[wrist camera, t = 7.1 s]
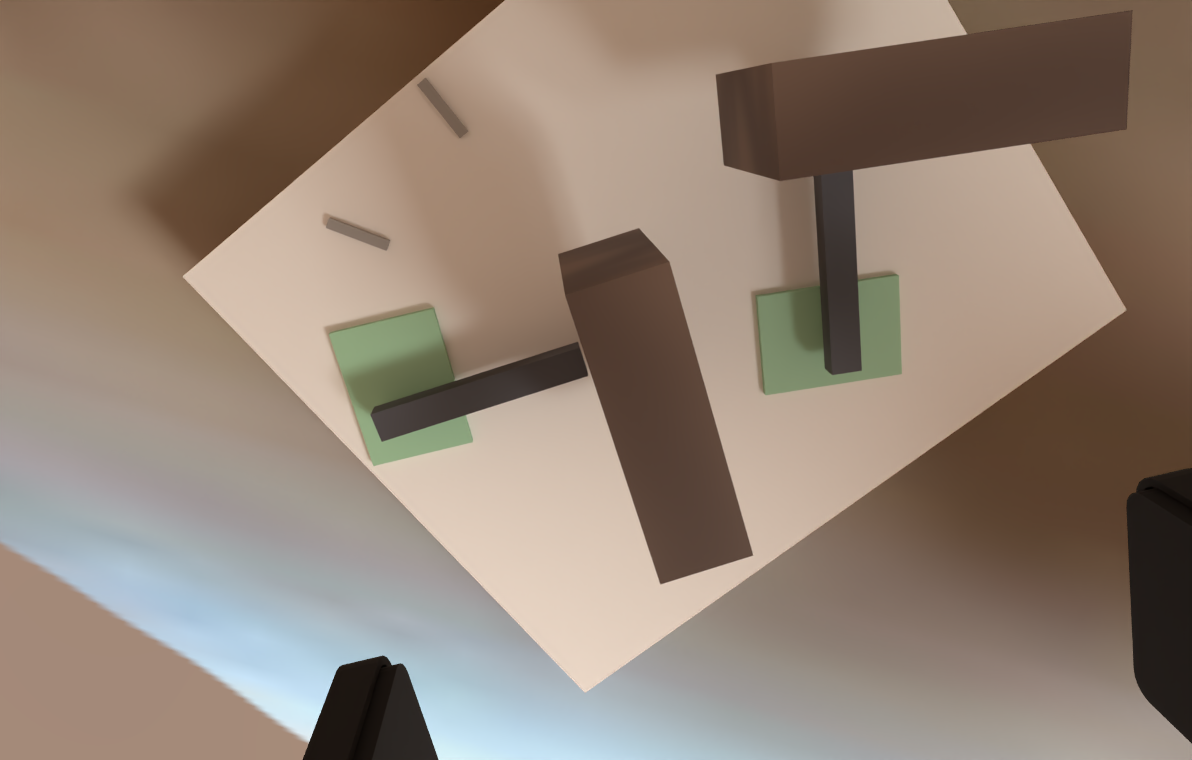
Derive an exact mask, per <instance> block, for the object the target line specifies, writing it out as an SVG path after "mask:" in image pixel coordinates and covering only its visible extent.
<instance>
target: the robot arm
mask: <svg viewBox="0 0 1192 760" xmlns="http://www.w3.org/2000/svg"><path fill="white" fill-rule="evenodd" d="M1127 527H1128V549H1129V572H1130V594H1131V617H1132V639H1133V662H1134V673H1135V678H1136V681H1137V684H1138V686H1139V688H1140V690H1141V692H1142V693H1143V695H1144V696H1145V698H1146V699H1147V700H1148V701H1149V702H1150V703H1151V704H1152V705H1153V706H1154V707H1155V708H1156V709H1157V710H1158V711H1159V712H1160V713H1161V714H1162V715H1163V716H1164V717H1165V718H1166V719H1167V720H1168V721H1169V722H1170V723H1171V724H1172V725H1173V726H1174V727H1175V728H1176V729H1177V730H1178V731H1179V732H1180V733H1181V734H1183V735H1184V736H1185V737H1186V738H1187V739H1188V740H1189V741H1190V742H1191V743H1192V468H1190V469H1183V470H1179V471H1174V472H1170V473H1166V474H1162V475H1157V476H1153V477H1149V478H1144V479H1143V480H1142V481H1140V482H1139V485H1138V487H1137V491H1136V493H1132V494H1131V495H1130V496H1129V497H1128V500H1127ZM303 760H438V757H437V754H436V751H435V749H434V746H433V743H432V740H431V737H430V734H429V731H428V729H427V726H426V723H425V720H424V717H423V714H422V711H421V709H420V706H419V703H418V700H417V697H416V694H415V692H414V689H413V686H412V683H411V680H410V677H409V674H408V672H407V670H406V668H405V666H404V665H403V664H396V665H391V663H390V661H389V660H388V658H387V657H385V656H379V657H375V658H371V659H366V660H362V661H358V662H354V663H349V664H345V665H342V666H340V667H339V668H338V670H337V671H336V674H335V676H334V679H333V682H332V684H331V687H330V689H329V692H328V695H327V697H326V700H325V703H324V705H323V708H322V710H321V713H320V716H319V718H318V721H317V724H316V726H315V729H314V731H313V734H312V737H311V739H310V742H309V744H308V747H307V750H306V752H305V755H304V758H303Z"/></svg>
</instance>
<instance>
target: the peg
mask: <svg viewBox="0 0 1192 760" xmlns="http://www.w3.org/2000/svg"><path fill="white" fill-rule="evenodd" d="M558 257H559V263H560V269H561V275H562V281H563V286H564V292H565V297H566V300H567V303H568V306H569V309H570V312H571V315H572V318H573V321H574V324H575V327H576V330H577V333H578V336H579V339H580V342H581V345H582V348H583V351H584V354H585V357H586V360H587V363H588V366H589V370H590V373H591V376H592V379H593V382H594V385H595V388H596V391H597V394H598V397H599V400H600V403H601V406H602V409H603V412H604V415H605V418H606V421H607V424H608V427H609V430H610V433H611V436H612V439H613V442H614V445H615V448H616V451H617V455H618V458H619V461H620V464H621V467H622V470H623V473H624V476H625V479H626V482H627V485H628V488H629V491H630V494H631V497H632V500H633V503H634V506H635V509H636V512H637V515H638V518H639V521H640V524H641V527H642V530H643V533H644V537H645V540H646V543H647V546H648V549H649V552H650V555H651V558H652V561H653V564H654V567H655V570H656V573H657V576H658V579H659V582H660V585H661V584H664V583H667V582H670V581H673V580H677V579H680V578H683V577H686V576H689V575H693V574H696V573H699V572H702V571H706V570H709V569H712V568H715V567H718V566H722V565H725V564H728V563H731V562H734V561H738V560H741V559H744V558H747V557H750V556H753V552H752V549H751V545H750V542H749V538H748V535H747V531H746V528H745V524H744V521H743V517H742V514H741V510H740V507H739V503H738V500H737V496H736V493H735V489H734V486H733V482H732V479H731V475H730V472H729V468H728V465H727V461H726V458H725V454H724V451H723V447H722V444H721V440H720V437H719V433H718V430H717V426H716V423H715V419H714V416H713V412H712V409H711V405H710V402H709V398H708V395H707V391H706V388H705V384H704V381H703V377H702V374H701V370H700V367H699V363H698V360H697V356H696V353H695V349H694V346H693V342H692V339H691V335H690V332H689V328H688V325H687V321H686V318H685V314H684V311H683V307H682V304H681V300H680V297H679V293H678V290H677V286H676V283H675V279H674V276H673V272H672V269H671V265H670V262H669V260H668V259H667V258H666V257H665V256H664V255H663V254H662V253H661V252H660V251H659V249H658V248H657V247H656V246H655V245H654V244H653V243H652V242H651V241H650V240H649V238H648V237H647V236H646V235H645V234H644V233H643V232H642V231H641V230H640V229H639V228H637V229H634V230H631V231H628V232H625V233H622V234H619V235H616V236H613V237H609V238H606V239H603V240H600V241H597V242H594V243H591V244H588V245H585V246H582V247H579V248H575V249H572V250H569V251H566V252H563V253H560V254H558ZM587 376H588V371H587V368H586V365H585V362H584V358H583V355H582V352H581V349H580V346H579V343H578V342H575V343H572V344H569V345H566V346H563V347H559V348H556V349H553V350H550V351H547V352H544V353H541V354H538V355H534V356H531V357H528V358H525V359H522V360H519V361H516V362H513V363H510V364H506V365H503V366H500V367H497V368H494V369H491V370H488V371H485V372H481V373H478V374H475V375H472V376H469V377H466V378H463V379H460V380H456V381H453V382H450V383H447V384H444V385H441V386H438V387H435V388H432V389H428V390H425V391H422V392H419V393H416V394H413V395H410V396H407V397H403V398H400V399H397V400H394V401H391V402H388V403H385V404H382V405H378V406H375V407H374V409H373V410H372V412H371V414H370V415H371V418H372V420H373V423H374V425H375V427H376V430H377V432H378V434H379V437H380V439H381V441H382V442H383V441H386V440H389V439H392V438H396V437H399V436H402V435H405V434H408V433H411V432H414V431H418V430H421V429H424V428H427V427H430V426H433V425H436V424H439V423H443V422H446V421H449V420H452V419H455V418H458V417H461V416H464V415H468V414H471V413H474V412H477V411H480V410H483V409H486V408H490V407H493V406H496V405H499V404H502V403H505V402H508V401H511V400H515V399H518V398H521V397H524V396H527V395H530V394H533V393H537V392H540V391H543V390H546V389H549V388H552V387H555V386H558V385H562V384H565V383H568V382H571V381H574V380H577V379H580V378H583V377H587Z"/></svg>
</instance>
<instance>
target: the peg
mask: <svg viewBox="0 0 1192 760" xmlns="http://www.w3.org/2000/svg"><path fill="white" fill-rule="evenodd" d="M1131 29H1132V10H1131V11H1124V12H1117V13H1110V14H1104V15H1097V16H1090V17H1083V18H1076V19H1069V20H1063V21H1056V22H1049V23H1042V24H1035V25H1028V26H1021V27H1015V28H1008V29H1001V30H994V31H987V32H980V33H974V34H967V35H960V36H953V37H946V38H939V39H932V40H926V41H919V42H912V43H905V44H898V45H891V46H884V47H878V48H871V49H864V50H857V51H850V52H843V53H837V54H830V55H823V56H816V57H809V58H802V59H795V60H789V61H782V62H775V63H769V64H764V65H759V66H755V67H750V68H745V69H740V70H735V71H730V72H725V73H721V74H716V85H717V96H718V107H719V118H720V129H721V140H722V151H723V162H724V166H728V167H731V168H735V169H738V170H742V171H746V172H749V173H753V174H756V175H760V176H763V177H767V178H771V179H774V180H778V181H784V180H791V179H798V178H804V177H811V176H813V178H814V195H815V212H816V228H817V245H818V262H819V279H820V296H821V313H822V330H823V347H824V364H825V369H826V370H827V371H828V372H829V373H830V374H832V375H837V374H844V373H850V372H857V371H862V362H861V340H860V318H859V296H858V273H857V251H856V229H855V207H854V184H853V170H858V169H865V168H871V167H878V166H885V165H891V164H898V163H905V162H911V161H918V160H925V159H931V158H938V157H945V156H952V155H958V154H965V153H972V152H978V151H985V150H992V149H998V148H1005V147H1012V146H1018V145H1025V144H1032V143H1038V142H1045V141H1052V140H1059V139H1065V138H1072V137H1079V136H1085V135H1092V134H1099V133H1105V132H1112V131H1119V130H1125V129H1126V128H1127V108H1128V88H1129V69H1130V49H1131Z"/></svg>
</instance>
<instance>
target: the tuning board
mask: <svg viewBox="0 0 1192 760" xmlns="http://www.w3.org/2000/svg"><path fill="white" fill-rule="evenodd" d="M960 35H967V33H966V31H965V30H964V28H963V26H962V24H961V23H960V21H959V19H958V18H957V16H956V14H955V12H954V11H953V9H952V7H951V5H950V4H949V2H948V0H505V1H504V2H502V3H501V4H500V5H499V6H498V7H497V8H495V9H494V10H493V11H492V12H491V13H490V14H488V15H487V16H486V17H485V18H484V19H483V20H481V21H480V22H479V23H478V24H477V25H476V26H474V27H473V28H472V29H471V30H470V31H469V32H467V33H466V34H465V35H464V36H463V37H462V38H460V39H459V40H458V41H457V42H456V43H455V44H453V45H452V46H451V47H450V48H449V49H448V50H446V51H445V52H444V53H443V54H442V55H441V56H439V57H438V58H437V59H436V60H435V61H434V62H432V63H431V64H430V65H429V66H428V67H427V68H425V69H424V70H423V71H422V72H421V73H420V74H418V75H417V76H416V77H415V78H414V79H413V80H411V81H410V82H409V83H408V84H407V85H406V86H404V87H403V88H402V89H401V90H400V91H399V92H397V93H396V94H395V95H394V96H393V97H392V98H390V99H389V100H388V101H387V102H386V103H385V104H383V105H382V106H381V107H380V108H379V109H378V110H376V111H375V112H374V113H373V114H372V115H371V116H369V117H368V118H367V119H366V120H365V121H364V122H362V123H361V124H360V125H359V126H358V127H357V128H355V129H354V130H353V131H352V132H351V133H350V134H348V135H347V136H346V137H345V138H344V139H343V140H341V141H340V142H339V143H338V144H337V145H336V146H334V147H333V148H332V149H331V150H330V151H328V152H327V153H326V154H325V155H324V156H323V157H321V158H320V159H319V160H318V161H317V162H316V163H314V164H313V165H312V166H311V167H310V168H309V169H307V170H306V171H305V172H304V173H303V174H302V175H300V176H299V177H298V178H297V179H296V180H295V181H293V182H292V183H291V184H290V185H289V186H288V187H286V188H285V189H284V190H283V191H282V192H281V193H279V194H278V195H277V196H276V197H275V198H274V199H272V200H271V201H270V202H269V203H268V204H267V205H265V206H264V207H263V208H262V209H261V210H260V211H258V212H257V213H256V214H255V215H254V216H253V217H251V218H250V219H249V220H248V221H247V222H246V223H244V224H243V225H242V226H241V227H240V228H239V229H237V230H236V231H235V232H234V233H233V234H232V235H230V236H229V237H228V238H227V239H226V240H225V241H223V242H222V243H221V244H220V245H219V246H218V247H216V248H215V249H214V250H213V251H212V252H211V253H209V254H208V255H207V256H206V257H205V258H204V259H202V260H201V261H200V262H199V263H198V264H197V265H195V266H194V267H193V268H192V269H191V270H190V271H188V272H187V273H186V274H185V275H184V276H183V278H184V279H185V280H186V281H187V282H188V283H189V284H190V285H191V286H192V287H193V288H194V289H195V290H196V291H197V292H198V293H199V294H200V295H201V296H202V297H203V298H204V299H205V300H206V301H207V302H208V303H209V304H210V305H211V307H212V308H213V309H214V310H215V311H216V312H217V313H218V314H219V315H220V316H221V317H222V318H223V319H224V320H225V321H226V322H227V323H228V324H229V325H230V326H231V327H232V328H233V329H234V330H235V331H236V332H237V333H238V334H239V335H240V337H241V338H242V339H243V340H244V341H245V342H246V343H247V344H248V345H249V346H250V347H251V348H252V349H253V350H254V351H255V352H256V353H257V354H258V355H259V356H260V357H261V358H262V359H263V360H264V361H265V362H266V363H267V364H268V365H269V366H270V368H271V369H272V370H273V371H274V372H275V373H276V374H277V375H278V376H279V377H280V378H281V379H282V380H283V381H284V382H285V383H286V384H287V385H288V386H289V387H290V388H291V389H292V390H293V391H294V392H295V393H296V394H297V395H298V396H299V397H300V399H301V400H302V401H303V402H304V403H305V404H306V405H307V406H308V407H309V408H310V409H311V410H312V411H313V412H314V413H315V414H316V415H317V416H318V417H319V418H320V419H321V420H322V421H323V422H324V423H325V424H326V425H327V426H328V427H329V428H330V430H331V431H332V432H333V433H334V434H335V435H336V436H337V437H338V438H339V439H340V440H341V441H342V442H343V443H344V444H345V445H346V446H347V447H348V448H349V449H350V450H351V451H352V452H353V453H354V454H355V455H356V456H357V457H358V458H359V459H360V461H361V462H362V463H363V464H364V465H365V466H366V467H367V468H368V469H369V470H370V471H371V472H372V473H373V474H374V475H375V476H376V477H377V478H378V479H379V480H380V481H381V482H382V483H383V484H384V485H385V486H386V487H387V488H388V489H389V491H390V492H391V493H392V494H393V495H394V496H395V497H396V498H397V499H398V500H399V501H400V502H401V503H402V504H403V505H404V506H405V507H406V508H407V509H408V510H409V511H410V512H411V513H412V514H413V515H414V516H415V517H416V518H417V519H418V520H419V522H420V523H421V524H422V525H423V526H424V527H425V528H426V529H427V530H428V531H429V532H430V533H431V534H432V535H433V536H434V537H435V538H436V539H437V540H438V541H439V542H440V543H441V544H442V545H443V546H444V547H445V548H446V549H447V550H448V551H449V553H450V554H451V555H452V556H453V557H454V558H455V559H456V560H457V561H458V562H459V563H460V564H461V565H462V566H463V567H464V568H465V569H466V570H467V571H468V572H469V573H470V574H471V575H472V576H473V577H474V578H475V579H476V580H477V581H478V582H479V584H480V585H481V586H482V587H483V588H484V589H485V590H486V591H487V592H488V593H489V594H490V595H491V596H492V597H493V598H494V599H495V600H496V601H497V602H498V603H499V604H500V605H501V606H502V607H503V608H504V609H505V610H506V611H507V612H508V613H509V615H510V616H511V617H512V618H513V619H514V620H515V621H516V622H517V623H518V624H519V625H520V626H521V627H522V628H523V629H524V630H525V631H526V632H527V633H528V634H529V635H530V636H531V637H532V638H533V639H534V640H535V641H536V642H537V643H538V645H539V646H540V647H541V648H542V649H543V650H544V651H545V652H546V653H547V654H548V655H549V656H550V657H551V658H552V659H553V660H554V661H555V662H556V663H557V664H558V665H559V666H560V667H561V668H562V669H563V670H564V671H565V672H566V673H567V674H568V676H569V677H570V678H571V679H572V680H573V681H574V682H575V683H576V684H577V685H578V686H579V687H580V688H581V689H582V690H583V691H584V692H585V693H586V692H587V691H588V690H590V689H591V688H593V687H594V686H595V685H597V684H598V683H600V682H601V681H602V680H604V679H605V678H607V677H608V676H610V675H611V674H612V673H614V672H615V671H617V670H618V669H619V668H621V667H622V666H624V665H625V664H627V663H628V662H629V661H631V660H632V659H634V658H635V657H636V656H638V655H639V654H641V653H642V652H644V651H645V650H646V649H648V648H649V647H651V646H652V645H653V644H655V643H656V642H658V641H659V640H660V639H662V638H663V637H665V636H666V635H668V634H669V633H670V632H672V631H673V630H675V629H676V628H677V627H679V626H680V625H682V624H683V623H685V622H686V621H687V620H689V619H690V618H692V617H693V616H694V615H696V614H697V613H699V612H700V611H702V610H703V609H704V608H706V607H707V606H709V605H710V604H711V603H713V602H714V601H716V600H717V599H718V598H720V597H721V596H723V595H724V594H726V593H727V592H728V591H730V590H731V589H733V588H734V587H735V586H737V585H738V584H740V583H741V582H743V581H744V580H745V579H747V578H748V577H750V576H751V575H752V574H754V573H755V572H757V571H758V570H760V569H761V568H762V567H764V566H765V565H767V564H768V563H769V562H771V561H772V560H774V559H775V558H776V557H778V556H779V555H781V554H782V553H784V552H785V551H786V550H788V549H789V548H791V547H792V546H793V545H795V544H796V543H798V542H799V541H801V540H802V539H803V538H805V537H806V536H808V535H809V534H810V533H812V532H813V531H815V530H816V529H818V528H819V527H820V526H822V525H823V524H825V523H826V522H827V521H829V520H830V519H832V518H833V517H835V516H836V515H837V514H839V513H840V512H842V511H843V510H844V509H846V508H847V507H849V506H850V505H851V504H853V503H854V502H856V501H857V500H859V499H860V498H861V497H863V496H864V495H866V494H867V493H868V492H870V491H871V490H873V489H874V488H876V487H877V486H878V485H880V484H881V483H883V482H884V481H885V480H887V479H888V478H890V477H891V476H893V475H894V474H895V473H897V472H898V471H900V470H901V469H902V468H904V467H905V466H907V465H908V464H909V463H911V462H912V461H914V460H915V459H917V458H918V457H919V456H921V455H922V454H924V453H925V452H926V451H928V450H929V449H931V448H932V447H934V446H935V445H936V444H938V443H939V442H941V441H942V440H943V439H945V438H946V437H948V436H949V435H951V434H952V433H953V432H955V431H956V430H958V429H959V428H960V427H962V426H963V425H965V424H966V423H967V422H969V421H970V420H972V419H973V418H975V417H976V416H977V415H979V414H980V413H982V412H983V411H984V410H986V409H987V408H989V407H990V406H992V405H993V404H994V403H996V402H997V401H999V400H1000V399H1001V398H1003V397H1004V396H1006V395H1007V394H1009V393H1010V392H1011V391H1013V390H1014V389H1016V388H1017V387H1018V386H1020V385H1021V384H1023V383H1024V382H1025V381H1027V380H1028V379H1030V378H1031V377H1033V376H1034V375H1035V374H1037V373H1038V372H1040V371H1041V370H1042V369H1044V368H1045V367H1047V366H1048V365H1050V364H1051V363H1052V362H1054V361H1055V360H1057V359H1058V358H1059V357H1061V356H1062V355H1064V354H1065V353H1067V352H1068V351H1069V350H1071V349H1072V348H1074V347H1075V346H1076V345H1078V344H1079V343H1081V342H1082V341H1083V340H1085V339H1086V338H1088V337H1089V336H1091V335H1092V334H1093V333H1095V332H1096V331H1098V330H1099V329H1100V328H1102V327H1103V326H1105V325H1106V324H1108V323H1109V322H1110V321H1112V320H1113V319H1115V318H1116V317H1117V316H1119V315H1120V314H1122V313H1123V312H1125V311H1126V308H1125V306H1124V305H1123V303H1122V301H1121V299H1120V298H1119V296H1118V294H1117V292H1116V291H1115V289H1114V287H1113V286H1112V284H1111V282H1110V280H1109V279H1108V277H1107V275H1106V273H1105V272H1104V270H1103V268H1102V267H1101V265H1100V263H1099V261H1098V260H1097V258H1096V256H1095V254H1094V253H1093V251H1092V249H1091V248H1090V246H1089V244H1088V242H1087V241H1086V239H1085V237H1084V235H1083V234H1082V232H1081V230H1080V229H1079V227H1078V225H1077V223H1076V222H1075V220H1074V218H1073V216H1072V215H1071V213H1070V211H1069V209H1068V208H1067V206H1066V204H1065V203H1064V201H1063V199H1062V197H1061V196H1060V194H1059V192H1058V190H1057V189H1056V187H1055V185H1054V184H1053V182H1052V180H1051V178H1050V177H1049V175H1048V173H1047V171H1046V170H1045V168H1044V166H1043V165H1042V163H1041V161H1040V159H1039V158H1038V156H1037V154H1036V152H1035V151H1034V149H1033V147H1032V146H1031V144H1025V145H1018V146H1012V147H1005V148H998V149H992V150H985V151H978V152H972V153H965V154H958V155H952V156H945V157H938V158H931V159H925V160H918V161H911V162H905V163H898V164H891V165H885V166H878V167H871V168H865V169H858V170H853V184H854V207H855V229H856V251H857V273H858V296H859V318H860V340H861V362H862V371H857V372H850V373H844V374H837V375H832V374H830V373H829V372H828V371H827V370H826V369H825V364H824V347H823V330H822V313H821V296H820V279H819V262H818V245H817V228H816V212H815V195H814V178H813V176H811V177H804V178H798V179H791V180H784V181H778V180H774V179H771V178H767V177H763V176H760V175H756V174H753V173H749V172H746V171H742V170H738V169H735V168H731V167H728V166H724V162H723V151H722V140H721V129H720V118H719V107H718V96H717V85H716V74H721V73H725V72H730V71H735V70H740V69H745V68H750V67H755V66H759V65H764V64H769V63H775V62H782V61H789V60H795V59H802V58H809V57H816V56H823V55H830V54H837V53H843V52H850V51H857V50H864V49H871V48H878V47H884V46H891V45H898V44H905V43H912V42H919V41H926V40H932V39H939V38H946V37H953V36H960ZM637 228H639V229H640V230H641V231H642V232H643V233H644V234H645V235H646V236H647V237H648V238H649V240H650V241H651V242H652V243H653V244H654V245H655V246H656V247H657V248H658V249H659V251H660V252H661V253H662V254H663V255H664V256H665V257H666V258H667V259H668V260H669V262H670V265H671V269H672V272H673V276H674V279H675V283H676V286H677V290H678V293H679V297H680V300H681V304H682V307H683V311H684V314H685V318H686V321H687V325H688V328H689V332H690V335H691V339H692V342H693V346H694V349H695V353H696V356H697V360H698V363H699V367H700V370H701V374H702V377H703V381H704V384H705V388H706V391H707V395H708V398H709V402H710V405H711V409H712V412H713V416H714V419H715V423H716V426H717V430H718V433H719V437H720V440H721V444H722V447H723V451H724V454H725V458H726V461H727V465H728V468H729V472H730V475H731V479H732V482H733V486H734V489H735V493H736V496H737V500H738V503H739V507H740V510H741V514H742V517H743V521H744V524H745V528H746V531H747V535H748V538H749V542H750V545H751V549H752V552H753V556H750V557H747V558H744V559H741V560H738V561H734V562H731V563H728V564H725V565H722V566H718V567H715V568H712V569H709V570H706V571H702V572H699V573H696V574H693V575H689V576H686V577H683V578H680V579H677V580H673V581H670V582H667V583H664V584H661V585H660V582H659V579H658V576H657V573H656V570H655V567H654V564H653V561H652V558H651V555H650V552H649V549H648V546H647V543H646V540H645V537H644V533H643V530H642V527H641V524H640V521H639V518H638V515H637V512H636V509H635V506H634V503H633V500H632V497H631V494H630V491H629V488H628V485H627V482H626V479H625V476H624V473H623V470H622V467H621V464H620V461H619V458H618V455H617V451H616V448H615V445H614V442H613V439H612V436H611V433H610V430H609V427H608V424H607V421H606V418H605V415H604V412H603V409H602V406H601V403H600V400H599V397H598V394H597V391H596V388H595V385H594V382H593V379H592V376H591V373H590V370H589V366H588V363H587V360H586V357H585V354H584V351H583V348H582V345H581V342H580V339H579V336H578V333H577V330H576V327H575V324H574V321H573V318H572V315H571V312H570V309H569V306H568V303H567V300H566V297H565V292H564V286H563V281H562V275H561V269H560V263H559V257H558V254H560V253H563V252H566V251H569V250H572V249H575V248H579V247H582V246H585V245H588V244H591V243H594V242H597V241H600V240H603V239H606V238H609V237H613V236H616V235H619V234H622V233H625V232H628V231H631V230H634V229H637ZM575 342H578V343H579V346H580V349H581V352H582V355H583V358H584V362H585V365H586V368H587V371H588V376H587V377H583V378H580V379H577V380H574V381H571V382H568V383H565V384H562V385H558V386H555V387H552V388H549V389H546V390H543V391H540V392H537V393H533V394H530V395H527V396H524V397H521V398H518V399H515V400H511V401H508V402H505V403H502V404H499V405H496V406H493V407H490V408H486V409H483V410H480V411H477V412H474V413H471V414H468V415H464V416H461V417H458V418H455V419H452V420H449V421H446V422H443V423H439V424H436V425H433V426H430V427H427V428H424V429H421V430H418V431H414V432H411V433H408V434H405V435H402V436H399V437H396V438H392V439H389V440H386V441H383V442H382V441H381V439H380V437H379V434H378V432H377V430H376V427H375V425H374V423H373V420H372V418H371V415H370V414H371V412H372V410H373V409H374V407H375V406H378V405H382V404H385V403H388V402H391V401H394V400H397V399H400V398H403V397H407V396H410V395H413V394H416V393H419V392H422V391H425V390H428V389H432V388H435V387H438V386H441V385H444V384H447V383H450V382H453V381H456V380H460V379H463V378H466V377H469V376H472V375H475V374H478V373H481V372H485V371H488V370H491V369H494V368H497V367H500V366H503V365H506V364H510V363H513V362H516V361H519V360H522V359H525V358H528V357H531V356H534V355H538V354H541V353H544V352H547V351H550V350H553V349H556V348H559V347H563V346H566V345H569V344H572V343H575Z"/></svg>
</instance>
